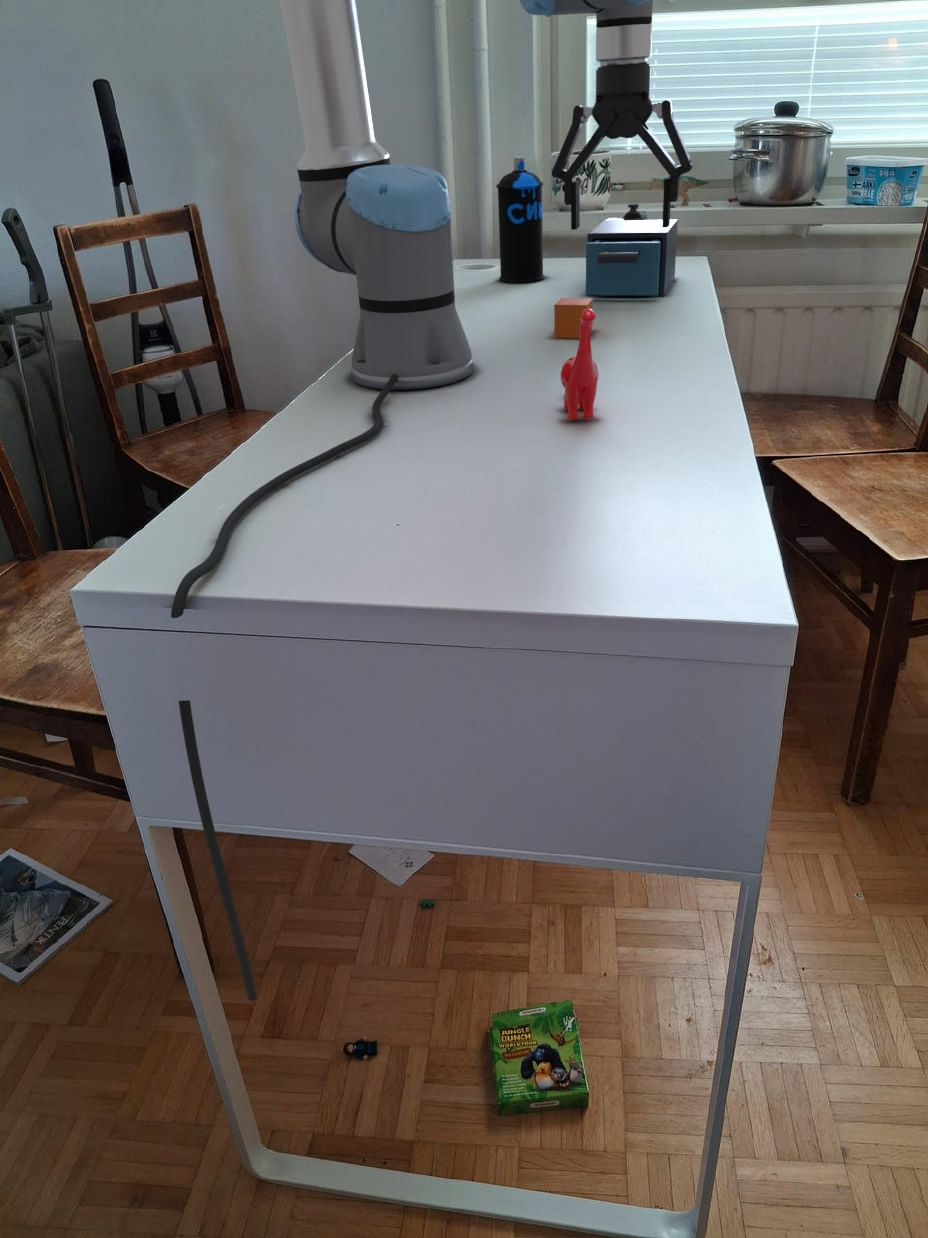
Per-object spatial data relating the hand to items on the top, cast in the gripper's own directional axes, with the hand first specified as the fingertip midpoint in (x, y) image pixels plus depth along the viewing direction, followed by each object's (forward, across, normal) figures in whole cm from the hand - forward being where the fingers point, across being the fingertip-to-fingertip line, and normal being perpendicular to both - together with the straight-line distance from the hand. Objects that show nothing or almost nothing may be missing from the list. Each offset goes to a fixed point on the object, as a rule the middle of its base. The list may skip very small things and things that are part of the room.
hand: (620, 227), depth 140 cm
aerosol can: (+12, +21, -22) cm, 33 cm away
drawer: (+11, 0, -8) cm, 13 cm away
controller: (+12, +4, -44) cm, 46 cm away
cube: (+11, +3, +19) cm, 22 cm away
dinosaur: (+11, -5, +55) cm, 56 cm away
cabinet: (+12, 0, -15) cm, 19 cm away
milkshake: (+12, +6, -29) cm, 32 cm away
